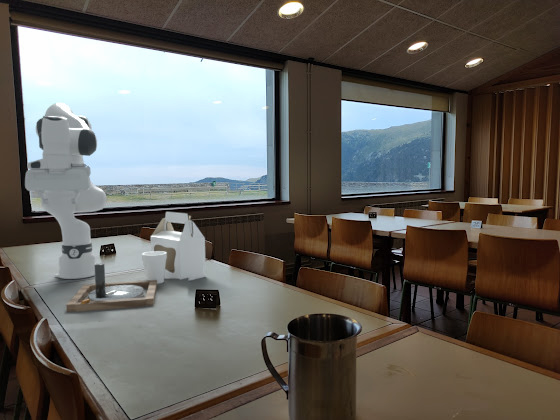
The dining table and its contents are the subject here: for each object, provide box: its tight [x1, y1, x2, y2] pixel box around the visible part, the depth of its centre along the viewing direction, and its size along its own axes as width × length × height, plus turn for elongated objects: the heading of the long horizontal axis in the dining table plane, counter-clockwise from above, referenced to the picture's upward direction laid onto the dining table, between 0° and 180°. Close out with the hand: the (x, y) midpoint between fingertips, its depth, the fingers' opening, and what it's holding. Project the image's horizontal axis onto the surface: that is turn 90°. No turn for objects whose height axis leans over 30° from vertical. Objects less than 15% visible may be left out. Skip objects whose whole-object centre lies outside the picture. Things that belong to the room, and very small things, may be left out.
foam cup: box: [141, 251, 167, 285], centre depth 165 cm, size 10×9×13 cm
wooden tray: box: [65, 279, 158, 313], centre depth 144 cm, size 26×26×4 cm
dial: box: [87, 263, 145, 301], centre depth 143 cm, size 18×18×13 cm
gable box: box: [150, 211, 207, 281], centre depth 180 cm, size 22×13×28 cm, turn 49°
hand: (59, 203), depth 144 cm, fingers open, 8 cm apart
